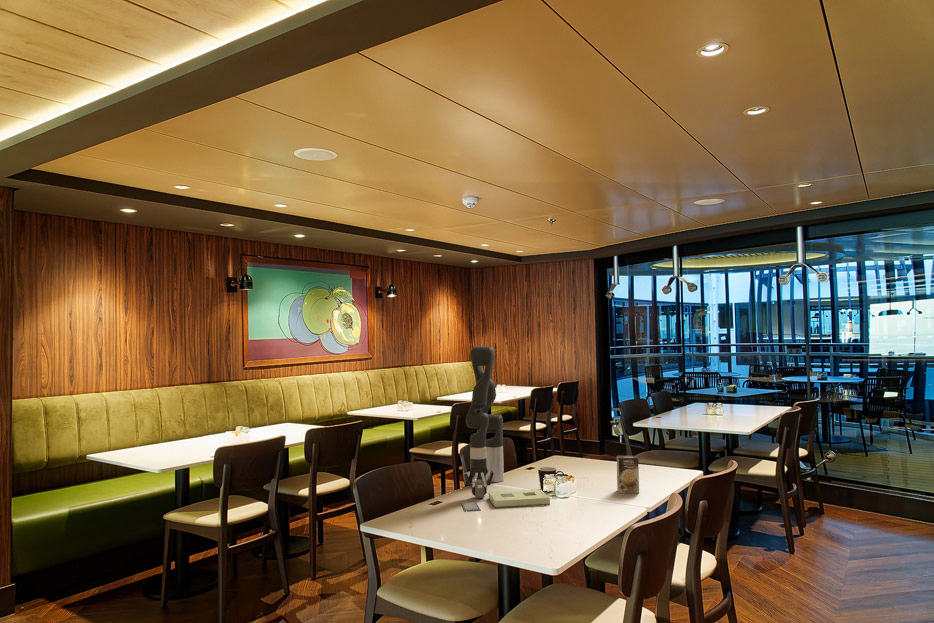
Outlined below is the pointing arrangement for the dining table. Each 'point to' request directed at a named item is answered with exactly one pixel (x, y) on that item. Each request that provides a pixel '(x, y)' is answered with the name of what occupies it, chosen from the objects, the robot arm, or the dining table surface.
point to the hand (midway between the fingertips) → (479, 494)
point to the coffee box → (627, 474)
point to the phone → (470, 506)
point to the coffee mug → (546, 470)
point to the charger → (479, 489)
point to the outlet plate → (519, 498)
